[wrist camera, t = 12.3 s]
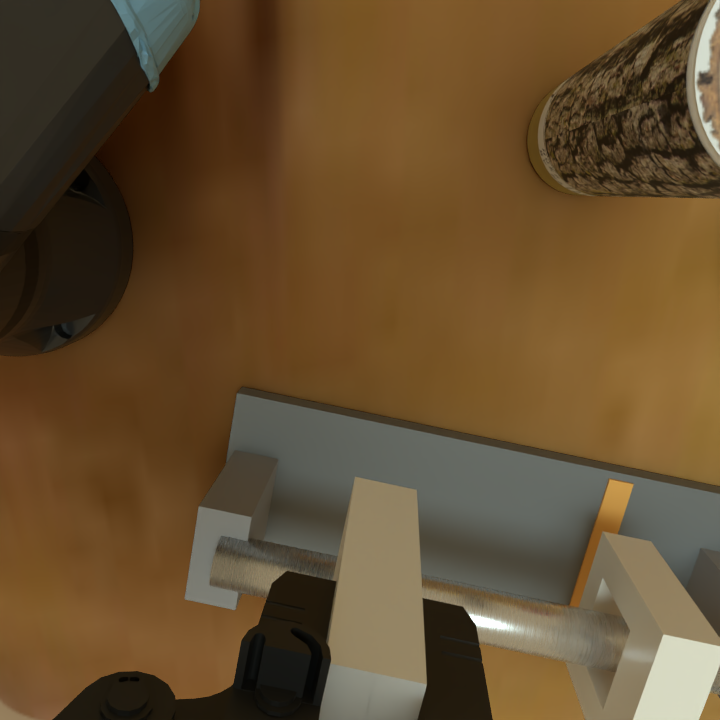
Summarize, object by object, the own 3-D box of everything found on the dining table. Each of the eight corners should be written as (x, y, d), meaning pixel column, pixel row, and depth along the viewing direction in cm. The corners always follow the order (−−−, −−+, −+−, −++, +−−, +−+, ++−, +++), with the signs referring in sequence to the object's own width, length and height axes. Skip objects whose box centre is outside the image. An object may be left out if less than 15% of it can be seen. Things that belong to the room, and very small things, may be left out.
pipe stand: (213, 565, 50) (167, 655, 40) (242, 386, 47) (199, 437, 37) (695, 668, 50) (767, 784, 40) (761, 495, 46) (856, 576, 36)
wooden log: (641, 186, 42) (969, 178, 18) (530, 203, 42) (698, 218, 18) (635, 69, 40) (985, -116, 16) (519, 89, 41) (688, -62, 17)
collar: (563, 655, 44) (608, 787, 34) (602, 531, 42) (663, 634, 32) (609, 665, 44) (667, 800, 34) (651, 541, 41) (726, 647, 32)
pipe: (220, 568, 40) (205, 599, 37) (228, 520, 40) (214, 548, 37) (751, 681, 40) (779, 722, 37) (769, 635, 39) (800, 672, 36)
